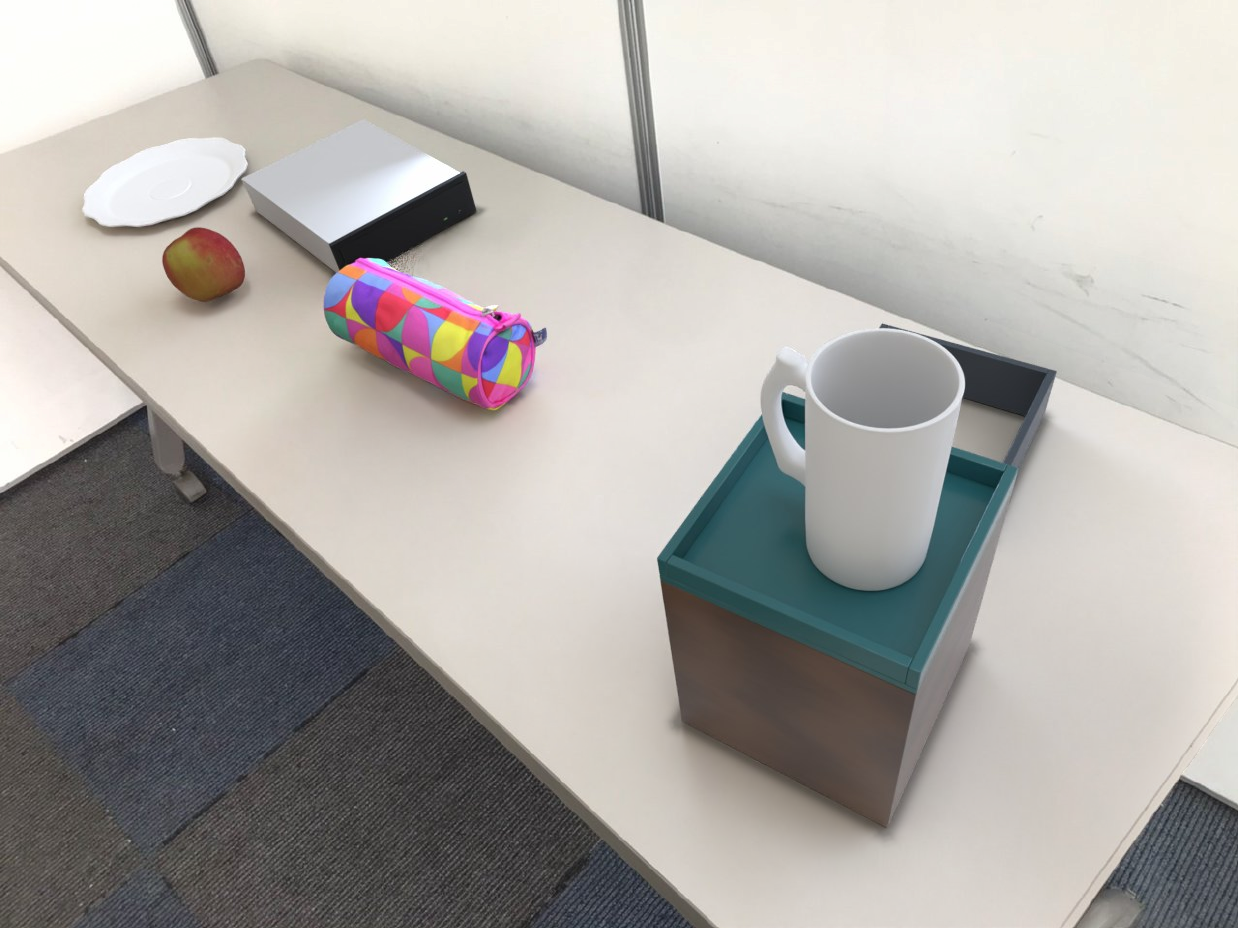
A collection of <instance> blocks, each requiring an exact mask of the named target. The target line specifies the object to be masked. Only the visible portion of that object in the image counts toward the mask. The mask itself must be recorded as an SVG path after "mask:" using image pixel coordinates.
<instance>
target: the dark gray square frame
mask: <svg viewBox="0 0 1238 928" xmlns="http://www.w3.org/2000/svg"><path fill="white" fill-rule="evenodd" d="M878 328H887V329H897V330H903V331H908V332H912V333H916V334H919V335H921V336H924V337H926V338H929V339H931V340H933V341H935V342H936V343H938V344H940V345H941V346H942V347H944V348H945V349H946V350H948V351H949V352H950V353H951V354H952V355H953V356H954V357H955V359H956V360H957V361H958V363H959V365H960V366H961V368H962V371H963V374H964V378H965V389H964V394H963V397H962V399H967V400H969V401H973V402H976V403H979V404H982V405H987V406H990V407H992V408H996V409H999V410H1003V411H1007V412H1010V413H1013V414H1017V415H1020V416H1024V419H1023V422H1022V423H1021V425H1020V427H1019V430H1018V431H1017V434H1016V436H1015V437H1014V439H1013V441H1012V443H1011V445H1010V448H1009V450H1008V452H1007V454H1006V455H1005V458H1004V459H1003V462H1002V463H1005V464H1007V465H1011V466H1014V467H1017V468H1018V471H1019V469H1020V468H1021V466H1022V464H1023V461H1024V459H1025V457H1026V455H1027V453H1028V450H1029V449H1030V446H1031V444H1032V443H1033V441H1034V438H1035V436H1036V434H1037V432H1038V430H1039V429H1040V426H1041V424H1042V422H1043V419H1044V418H1045V415H1046V410H1047V407H1048V403H1049V400H1050V397H1051V394H1052V390H1053V387H1054V383H1055V379H1056V376H1057V373H1058V371H1057V370H1055V369H1050V368H1047V367H1043V366H1041V365H1037V364H1033V363H1030V362H1025V361H1021V360H1018V359H1014V358H1011V357H1008V356H1004V355H1000V354H996V353H993V352H989V351H985V350H981V349H977V348H974V347H971V346H968V345H964V344H959V343H957V342H956V343H955V342H952V341H948V340H945V339H941V338H937V337H934V336H930V335H926V334H922V333H919V332H915V331H912V330H908V329H905V328H901V327H897V326H895V325H894V326H893V325H890V324H886V323H883V322H882V323H881V324H880V325H879V327H878Z"/></svg>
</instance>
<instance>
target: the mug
mask: <svg viewBox="0 0 1238 928" xmlns="http://www.w3.org/2000/svg"><path fill="white" fill-rule="evenodd" d="M908 331H909V330H908ZM908 331H903V330H897V329H887V328H879V327H876V328H865V329H859V330H854V331H850V332H846V333H843V334H841V335H839V336H836V337H834V338H832V339H831V340H828V341H827V342H826V343H824V344H823V345H822V346H820V347H819V348H818V349H816V351H815V352H814V353H813V354H812V355H811V358H810V359H809V361H808V360H807V358H806V356H805V355H804V354H803V353H800V352H798V351H796V350H794V349H793V348H792V347H790V346H784V347H782V348H781V349H780V350H779V351H778V352H777V353H776V355H775V360H774V363H773V365H772V366H771V367H770V369H769V370H768V372H767V373H766V376H765V377H764V380H763V382H762V385H761V388H760V389H761V390H760V412H761V414H762V417H763V422H764V425H765V429H766V432H767V435H768V438H769V441H770V444H771V447H772V449H773V452H774V455H775V458H776V461H777V464H778V467H779V469H780V470H781V471H782V472H783V473H785V474H787V475H789V476H791V477H793V478H795V479H796V480H798V481H799V482H801V483H802V484H803V485H804V486H805V525H806V545H807V550H808V553H809V555H810V558H811V560H812V561H813V563H814V565H815V566H816V567H817V568H818V569H819V571H821V572H822V573H823V574H824V575H825V576H826V577H828V578H829V579H831V580H832V581H834V582H836V583H838V584H840V585H842V586H845V587H848V588H852V589H856V590H863V591H879V590H886V589H890V588H893V587H896V586H899V585H901V584H903V583H905V582H906V581H908V580H909V579H911V578H912V577H913V576H914V575H915V574H916V573H917V572H918V571H919V569H920V568H921V566H922V565H923V563H924V560H925V558H926V554H927V550H928V546H929V543H930V539H931V535H932V531H933V527H934V522H935V518H936V513H937V509H938V504H939V500H940V495H941V491H942V486H943V482H944V478H945V473H946V469H947V465H948V460H949V456H950V452H951V447H953V443H954V438H955V433H956V429H957V425H958V420H959V416H960V412H961V411H960V410H961V405H962V400H963V394H964V389H965V378H964V374H963V371H962V368H961V366H960V365H959V363H958V361H957V360H956V359H955V357H954V356H953V355H952V354H951V353H950V352H949V351H948V350H946V349H945V348H944V347H942V346H941V345H940V344H938V343H936V342H935V341H933V340H931V339H929V338H926V337H924V336H921V335H919V334H920V333H919V334H916V333H917V332H916V333H912V332H913V331H912V332H908ZM787 386H793V387H796V388H799V389H801V390H802V391H803V392H804V393H805V394H804V395H805V396H804V397H805V398H804V399H805V450H803V449H802V448H801V447H800V446H799V445H798V443H797V442H796V441H795V439H794V438H793V436H792V435H791V433H790V432H789V430H788V428H787V426H786V423H785V420H784V417H783V413H782V407H781V396H782V392H784V390H785V388H786V387H787Z"/></svg>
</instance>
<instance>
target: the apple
mask: <svg viewBox="0 0 1238 928" xmlns="http://www.w3.org/2000/svg"><path fill="white" fill-rule="evenodd" d="M161 262H162V268H163V270H164V273H165V275H166V277H167V279H169V282H170V283H171V284H172V286H174V287H175V289H176V290H178V291H179V292H180V293H181V294H183V295H184V296H186V297H187V298H189V299H192V300H194V301H197V302H201V303H202V302H204V303H206V302H210V301H213V300H215V299H217V298H219V297H222V296H224V295H227V294H230V293H231V292H233V291H234V290H235V291H236V289H237V290H238V289H240V287H241V286H242V285H243V284H244V282H245V280H246V279H245V278H246V269H245V264H244V261H243V259H242V256H241V254H240V253H239V251H238V249H237V248H236V247H235V245H234V244H233V243H232V242H231V241H230V240H229V239H228V238H226V236H224V235H223V234H221V233H219V232H217V231H214V230H212V229H209V228H206V227H201V226H200V227H199V226H198V227H192V228H189V229H188V230H187V231H186V232H184V233H183V234H182V235H180V236H179V237H177V238H176V239H174V240H172V241H171V242H170V243H169V245H167V246H166V247H165V249H164V251H163V253H162V258H161Z"/></svg>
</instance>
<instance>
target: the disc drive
mask: <svg viewBox="0 0 1238 928" xmlns="http://www.w3.org/2000/svg"><path fill="white" fill-rule="evenodd" d="M241 181H242V184H243V186H244V189H245V190H246V192H247V194H248V196H249V199H250V200H251V203H252V205H253V207H254V209H255V211H256V212H257V213H258V214H259V215H261V216H262V217H263V218H265V220H267V221H269V222H270V223H271V224H272V225H274V226H275V227H276V228H278V229H279V230H280V231H281V232H283V234H285V235H287V236H288V237H289V238H291V239H292V240H293V241H294V242H295V243H297V244H298V245H300V246H301V247H302V248H304V249H305V250H306V251H307V252H308V253H310V254H311V255H313V257H315V258H317V259H318V260H319V261H320V262H321V263H323V264H325V266H327V267H328V268H330V269H331V270H332V271H333V272H335V274H336V273H337V272H338V271H340V270H341V269H342V268H344V267H345V266H347V265H350V264H352V263H355V260H357V259H359V258H363V259H366V258H374V259H381V260H384V261H385V262H387V263H388V262H389V261H391V260H393V259H395V258H397V257H398V256H400V255H402V254H404V253H405V252H407V251H409V250H410V249H412V248H414V247H416V246H418V245H419V244H422V243H423V242H425V241H427V240H428V239H430V238H432V237H433V236H435V235H438V234H439V233H441V232H443V231H444V230H446V229H448V228H450V227H451V226H453V225H455V224H456V223H458V222H460V221H462V220H464V219H466V218H468V217H470V216H471V215H473V214H474V213H476V212H477V207H476V203H475V199H474V196H473V192H472V189H471V184H470V181H469V177H468V174H467V172H466V171H464V170H463V171H461V172H460V171H459V170H455V169H454V168H452V167H451V166H449V165H447V164H445V163H443V162H442V161H440V160H439V159H436V158H435V157H433V156H431V155H430V154H428V153H425V151H423V150H420V149H418V148H417V147H415V146H413V145H411V144H410V143H408V142H406V141H404V140H403V139H401V138H399V137H398V136H396V135H394V134H392V133H390V132H388V131H386V130H385V129H383V128H381V127H379V126H378V125H376V124H374V123H372V122H370V121H368V120H367V119H365V118H362V119H359V120H357V121H356V122H354V123H352V124H349V125H348V126H345V127H344V128H342V129H340V130H337V131H334V133H331V134H329V135H327V136H326V137H323V138H321V139H319V140H317V141H315V142H313V143H311V144H308V145H307V146H305V147H303V148H301V149H298V150H296V151H295V152H293V153H291V154H288V155H286V156H284V157H282V158H280V159H278V160H276V161H274V162H272V163H270V164H268V165H266V166H264V167H262V168H260V169H258V170H255V171H254V172H252V173H250V174H247V175H245V176H243V177H241Z"/></svg>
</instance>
